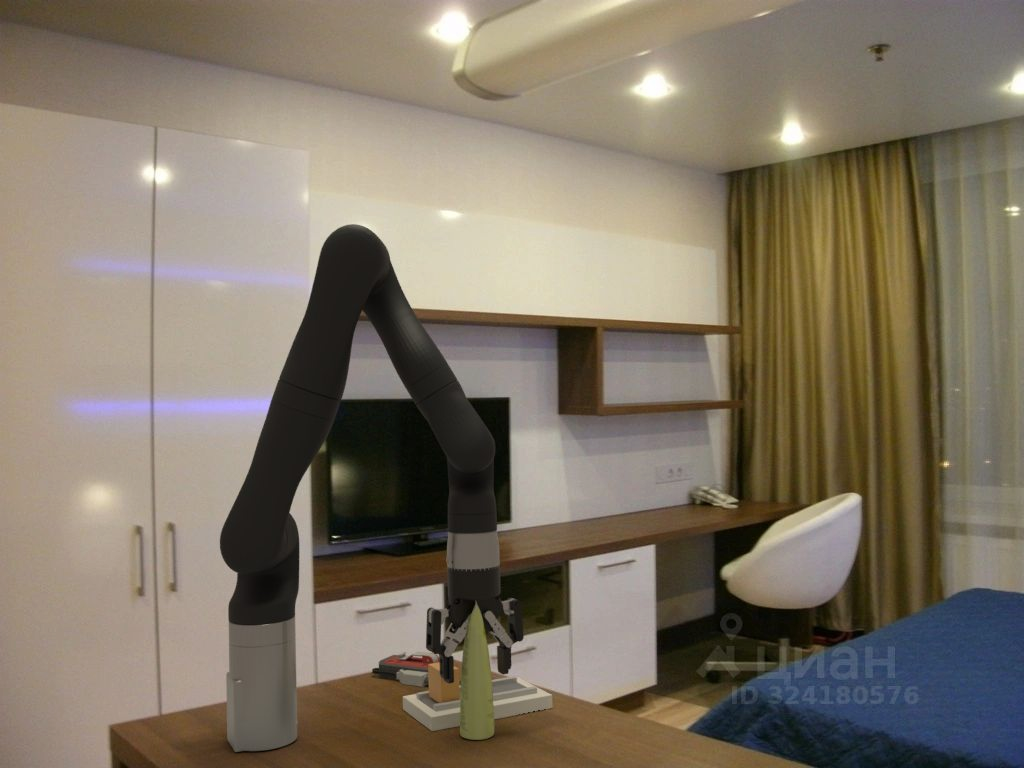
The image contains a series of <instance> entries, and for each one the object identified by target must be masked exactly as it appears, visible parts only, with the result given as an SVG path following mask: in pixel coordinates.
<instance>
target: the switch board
mask: <svg viewBox="0 0 1024 768" xmlns="http://www.w3.org/2000/svg"><path fill="white" fill-rule="evenodd" d="M459 689H460V696H461V685H460V686H459ZM492 690H493V707H494V720H497V719H498V720H499V719H503V718H504V719H505V718H508V717H514V716H519V714H520V715H522V714H523V713H525V714H529V713H528V712H530V713H534V712H533V711H535V712H539V711H538V710H540V711H544V709H546V710H550V708H551V709H553V694H551V693H549V692H547V691H545V690H543V689H541V688H539V687H537V686H535V685H533V684H531V683H529V682H527V681H526V680H523V679H522V678H520V677H518V676H507V677H502V678H501V677H500V678H495V679H492ZM402 710H403V711H405V712H406V713H407V714H409V716H411V717H412V718H414V719H415V720H417V721H418V722H419V723H420V724H421V725H423V726H424V727H426V728H427V729H428V730H430V731H431V732H436V731H440V730H441V731H442V730H446V729H452V728H455V727H460V700H455V701H449V702H444V703H438V702H437V701H435V700H434V699H432V698H431V697H429V690H425V691H420V692H416V693H413V694H409V695H404V696H402Z"/></svg>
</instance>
